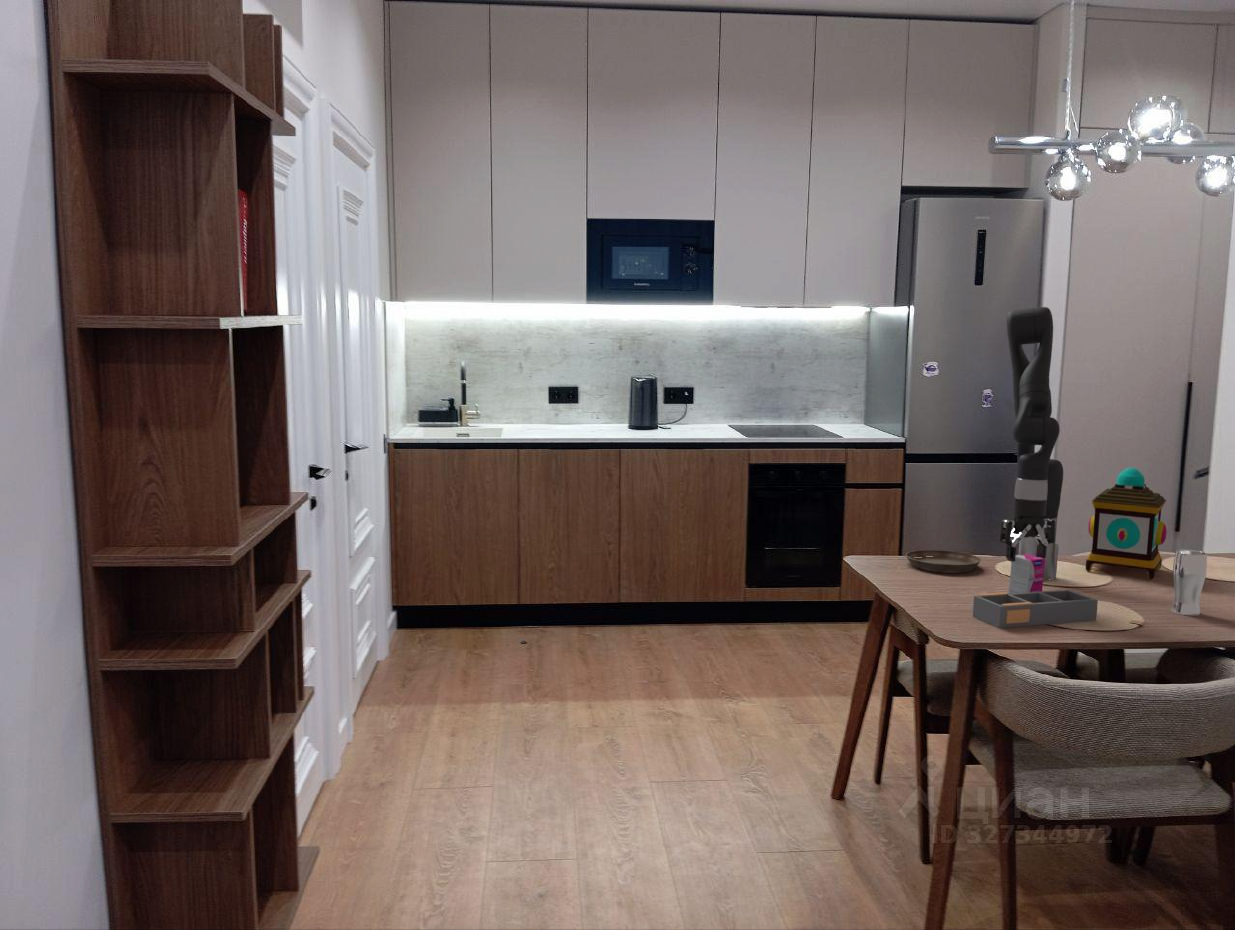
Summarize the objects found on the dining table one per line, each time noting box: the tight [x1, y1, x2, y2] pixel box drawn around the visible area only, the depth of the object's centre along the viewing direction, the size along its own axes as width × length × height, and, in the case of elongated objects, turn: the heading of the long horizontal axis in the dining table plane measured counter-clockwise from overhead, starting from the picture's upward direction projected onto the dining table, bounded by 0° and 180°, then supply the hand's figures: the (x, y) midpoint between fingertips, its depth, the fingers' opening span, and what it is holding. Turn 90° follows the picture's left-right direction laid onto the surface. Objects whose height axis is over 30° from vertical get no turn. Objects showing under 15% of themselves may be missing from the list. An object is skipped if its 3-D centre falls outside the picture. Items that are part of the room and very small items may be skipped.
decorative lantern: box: [1085, 467, 1168, 581], centre depth 280 cm, size 20×20×30 cm
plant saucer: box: [905, 549, 982, 574], centre depth 283 cm, size 21×21×3 cm
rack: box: [972, 589, 1099, 629], centre depth 230 cm, size 27×10×5 cm, turn 106°
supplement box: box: [1007, 554, 1045, 594], centre depth 246 cm, size 6×6×12 cm
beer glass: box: [1171, 548, 1208, 617], centre depth 237 cm, size 7×7×15 cm
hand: (1025, 560), depth 245 cm, fingers open, 8 cm apart
